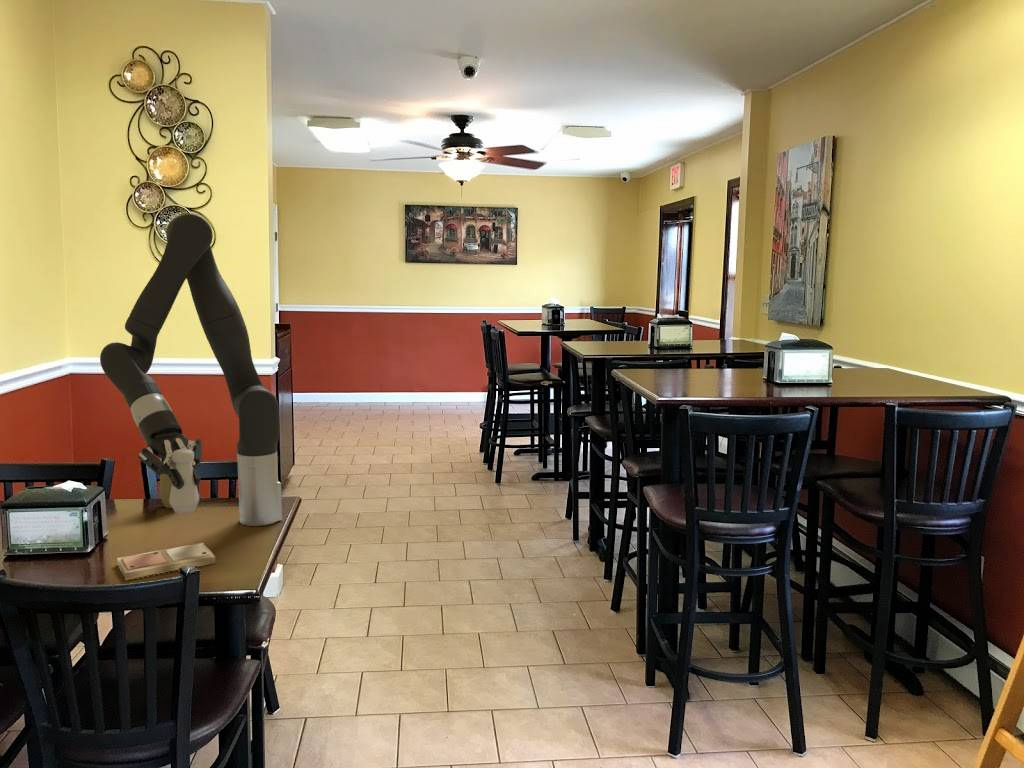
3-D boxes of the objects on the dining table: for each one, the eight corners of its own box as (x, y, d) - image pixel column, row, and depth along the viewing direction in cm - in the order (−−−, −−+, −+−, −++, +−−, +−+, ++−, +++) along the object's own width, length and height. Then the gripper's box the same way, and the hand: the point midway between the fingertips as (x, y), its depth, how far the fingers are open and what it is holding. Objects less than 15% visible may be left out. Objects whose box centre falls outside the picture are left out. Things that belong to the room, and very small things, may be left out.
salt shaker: (188, 516, 159) (186, 454, 158) (163, 513, 160) (161, 452, 159) (205, 507, 165) (203, 448, 163) (181, 505, 166) (178, 446, 164)
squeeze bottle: (187, 510, 198) (184, 441, 196) (154, 510, 198) (151, 441, 195) (197, 501, 206) (194, 434, 204) (166, 501, 206) (162, 434, 203)
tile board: (203, 549, 171) (202, 540, 170) (215, 563, 163) (214, 554, 162) (117, 564, 161) (117, 556, 161) (126, 580, 153) (125, 571, 153)
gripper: (128, 413, 159) (163, 481, 153) (192, 405, 170) (226, 468, 164) (117, 435, 163) (150, 502, 157) (179, 425, 174) (213, 488, 168)
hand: (189, 484), depth 161 cm, fingers closed on salt shaker, 3 cm apart
